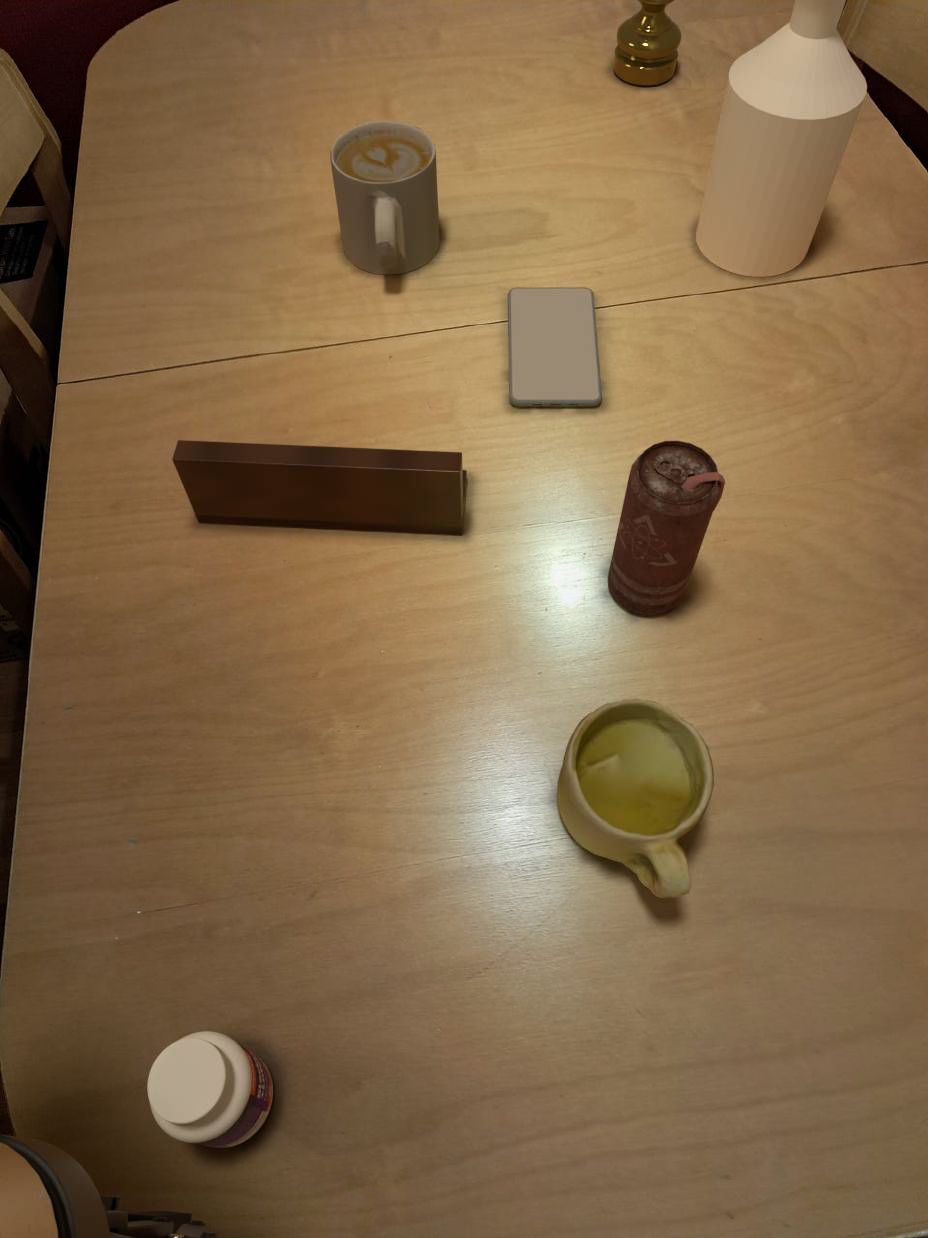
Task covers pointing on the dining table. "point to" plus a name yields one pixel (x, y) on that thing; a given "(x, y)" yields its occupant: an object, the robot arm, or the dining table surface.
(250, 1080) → the pill bottle
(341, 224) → the coffee mug
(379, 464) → the brown long rectangular block
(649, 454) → the can
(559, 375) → the smartphone
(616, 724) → the mug
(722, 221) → the bottle
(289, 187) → the dining table surface
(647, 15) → the salt shaker
